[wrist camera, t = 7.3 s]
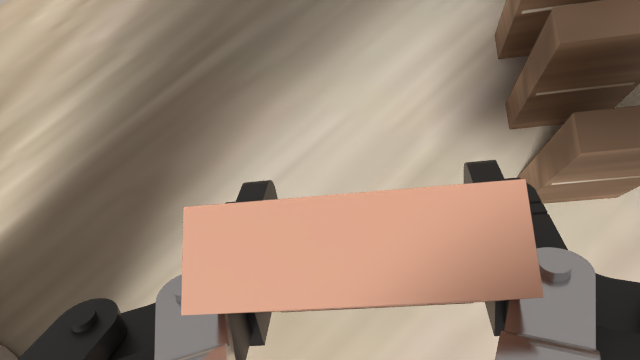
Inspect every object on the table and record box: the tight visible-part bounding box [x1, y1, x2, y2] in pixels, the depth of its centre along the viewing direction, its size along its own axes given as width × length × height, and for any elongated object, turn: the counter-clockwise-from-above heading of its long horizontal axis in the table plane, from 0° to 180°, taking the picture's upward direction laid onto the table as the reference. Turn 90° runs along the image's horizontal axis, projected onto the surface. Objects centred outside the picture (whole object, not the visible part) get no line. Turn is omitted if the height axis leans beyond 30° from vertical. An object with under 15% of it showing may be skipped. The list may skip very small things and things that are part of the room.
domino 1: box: [181, 179, 544, 315], centre depth 12 cm, size 2×5×10 cm, turn 93°
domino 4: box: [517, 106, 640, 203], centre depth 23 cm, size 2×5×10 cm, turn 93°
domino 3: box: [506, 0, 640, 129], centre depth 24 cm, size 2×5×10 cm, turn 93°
